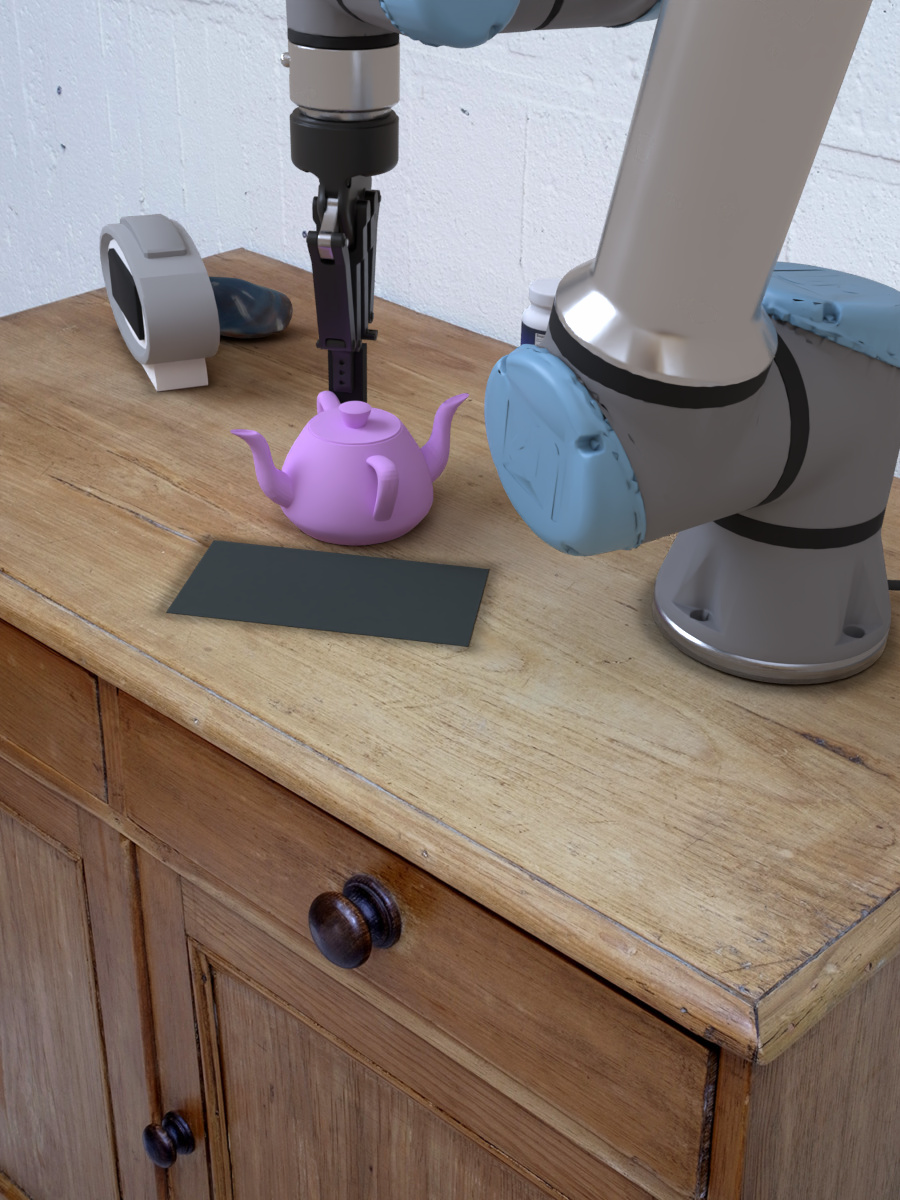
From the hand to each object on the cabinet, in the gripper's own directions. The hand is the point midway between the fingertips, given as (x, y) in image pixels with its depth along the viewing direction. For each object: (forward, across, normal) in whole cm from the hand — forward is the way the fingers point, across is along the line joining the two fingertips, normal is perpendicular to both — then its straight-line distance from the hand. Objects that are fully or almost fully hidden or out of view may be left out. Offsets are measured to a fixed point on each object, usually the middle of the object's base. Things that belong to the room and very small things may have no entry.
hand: (348, 423), depth 102 cm
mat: (+4, +18, +3) cm, 19 cm away
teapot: (+4, +7, +2) cm, 9 cm away
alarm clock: (+5, -20, -23) cm, 31 cm away
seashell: (+5, -29, -18) cm, 34 cm away
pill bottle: (+4, -20, +14) cm, 25 cm away
